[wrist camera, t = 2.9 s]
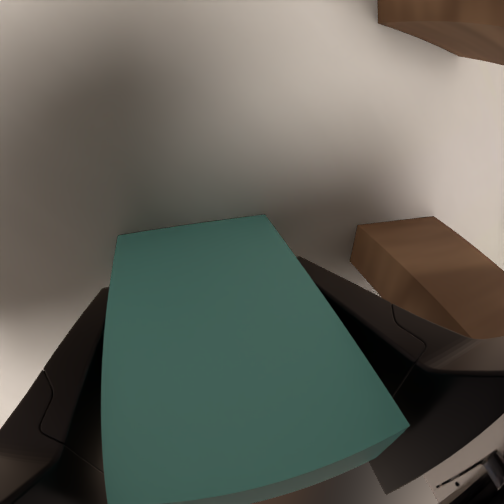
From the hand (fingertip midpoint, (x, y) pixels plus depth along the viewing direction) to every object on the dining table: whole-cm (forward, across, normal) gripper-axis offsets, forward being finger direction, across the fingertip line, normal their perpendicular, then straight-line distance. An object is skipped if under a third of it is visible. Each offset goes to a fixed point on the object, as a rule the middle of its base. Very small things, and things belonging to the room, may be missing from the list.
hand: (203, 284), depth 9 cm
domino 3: (+2, -9, +1) cm, 9 cm away
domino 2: (+2, -9, -9) cm, 13 cm away
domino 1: (+2, 0, 0) cm, 2 cm away
